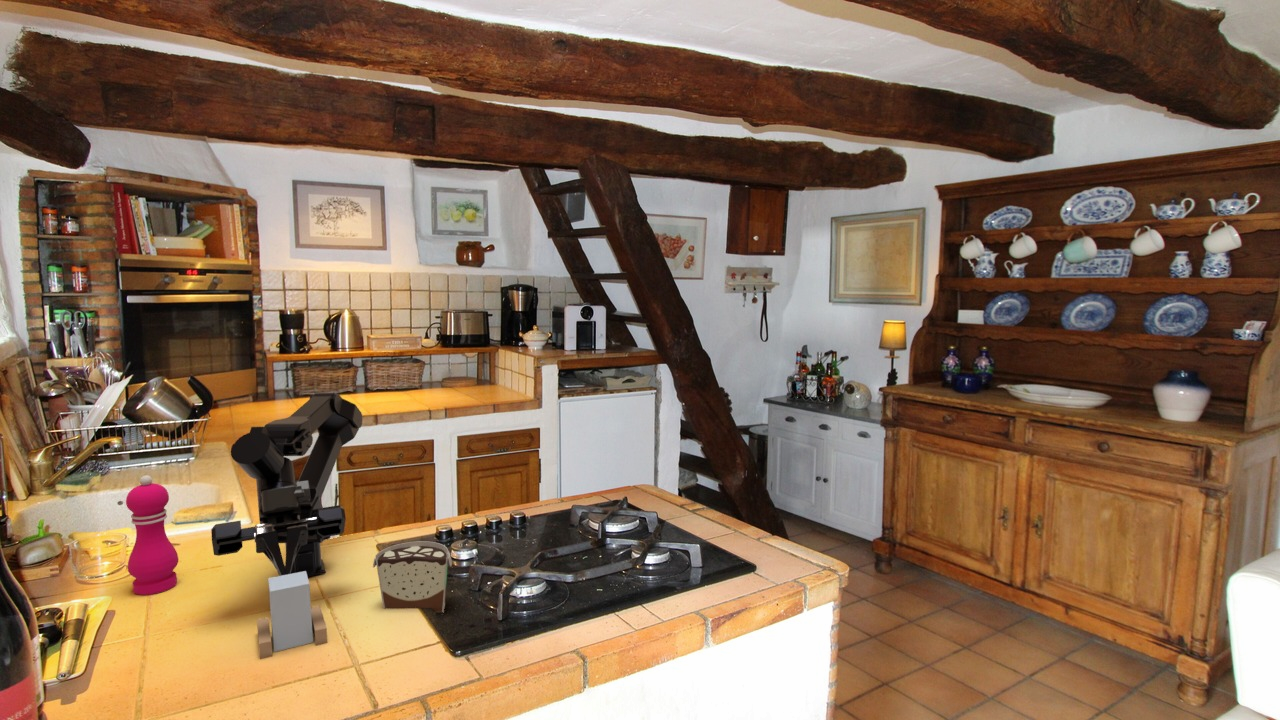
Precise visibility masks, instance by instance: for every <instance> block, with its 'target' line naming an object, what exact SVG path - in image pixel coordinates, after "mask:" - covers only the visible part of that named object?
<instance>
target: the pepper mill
mask: <svg viewBox="0 0 1280 720" xmlns="http://www.w3.org/2000/svg"><path fill="white" fill-rule="evenodd" d="M139 483H140V484H139V485H137V486H135V487H133V488H132V489H131V490H129V492H128V493H127V495H126V499H125V504H126V505H125V506H126V508H127V509H128V510H129V511H130V512H132V514H131V515H130V518H131V524H133V525H134V526H135V531H136V532H135V533H136V537H135V542H134V545H133V547H132V550H131V552H130V555H129V557H128V562H127V572H128V574H129V575H130V576H132V577H133V578H135V579H134V580H133V581H132V589H133V593H134V594H136V595H138V596H149V595H150V596H151V595H157V594H160V593H163V592H165V591H168V590H171V589H173V588H174V587H176V585H177V584H178V580H177V579H178V577H177V573H176V571H174V570H175V569H176V567H178V564H179V555H178V552H177V550H176V548H175V546H174V545H173V544H172V542H171V541H170V540H169V538H168V536H167V533H166V529H165V520H166V519H167V518H168V515H167V509H166V508H165V507H166V506H167V504H168V503H169V500H170V497H169V492H168V490H167V488H165V486H164V485H162V484H159V483H154V482H153V478H152V477H151V476H150V475H147V474H146V475H143V476H141V478H140V479H139Z"/></svg>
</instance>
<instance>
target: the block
mask: <svg viewBox="0 0 1280 720" xmlns="http://www.w3.org/2000/svg"><path fill="white" fill-rule="evenodd" d="M267 580H268V592H269V593H268V594H269V595H268V596H269V607H270V608H269V609H270V611H269V612H270V620H271V621H270V623H271V639H272V647H273V652H274V653H275V652H280V651H284V650H289V649H291V648H296V647H300V646H304V645H305V646H306V645H308V644H309V645H310V644H313V643H314V635H313V631H312V618H311V608H312V607H311V591H310V590H311V589H310V586H311V585H310V581H309V578H308V577H307V573H306V571H303V572H298V573H293V574H287V575H282V576H280V575H278V576H273V577H268V579H267Z"/></svg>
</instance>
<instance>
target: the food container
mask: <svg viewBox="0 0 1280 720" xmlns="http://www.w3.org/2000/svg"><path fill="white" fill-rule="evenodd" d="M372 563H373V565H372V568H373V569H374V568H375V567H376V569H377V575H378V577H377V578H378V582H379V589H380V595H381V600H382V606H383V607H382V608H383V610H386V609H387V610H390V609H391V610H392V609H393V610H394V609H395V610H396V609H397V610H398V609H399V610H400V609H431V610H432V611H434V612H443V613H444V614H445V611H444V609H445V608H446V596H447V595H446V593H447V578H448V566H449V567H452V565H453V561H452V555H451V553H450V551H449V550H448V548H447V546H445V545H444V544H442V543H439V542H435V541H426V540H425V541H424V540H423V541H421V540H419V541H410V542H403V543H398V544H395V545H391V546H388V547H386V548H384V549H382V550H380V551H379V552H377V553H376V554H375V557H374V559H373V562H372ZM434 612H433V613H434Z"/></svg>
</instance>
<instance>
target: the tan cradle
mask: <svg viewBox="0 0 1280 720" xmlns="http://www.w3.org/2000/svg"><path fill="white" fill-rule="evenodd" d="M321 607H322V606H321V605H317V606H316V605H315V606H312V607H311V618H312V634H313V640H314V643H315V646H318V645H319V646H320V645H323V644H327V643H328V632H327V625H326V621H325V618H324V614H323V611H322V608H321ZM269 620H270V618H269V617H268V616H266V617H262V618H258V619H256V626H257V639H258V648H259V649H258V650H259V659H260V660H262V659H267V658H270V657H273V648H272V647H273V643H272V634H271V629H270V621H269Z"/></svg>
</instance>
